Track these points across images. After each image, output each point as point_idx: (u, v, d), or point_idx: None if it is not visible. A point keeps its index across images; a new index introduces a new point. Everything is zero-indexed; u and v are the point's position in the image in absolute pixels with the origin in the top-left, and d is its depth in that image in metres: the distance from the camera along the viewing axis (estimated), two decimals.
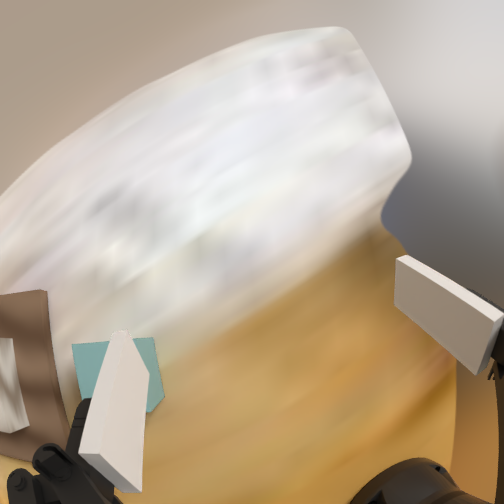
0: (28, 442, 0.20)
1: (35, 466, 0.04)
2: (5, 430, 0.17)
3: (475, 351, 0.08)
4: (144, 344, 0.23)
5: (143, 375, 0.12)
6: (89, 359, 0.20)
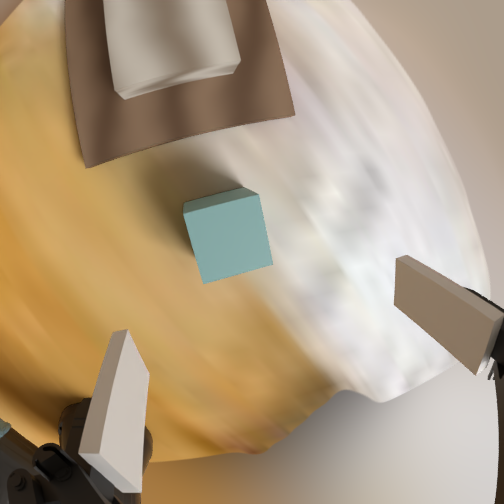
0: (99, 97, 0.21)
1: (35, 466, 0.04)
2: (115, 82, 0.18)
3: (475, 351, 0.08)
4: None
5: (143, 375, 0.12)
6: (246, 217, 0.23)
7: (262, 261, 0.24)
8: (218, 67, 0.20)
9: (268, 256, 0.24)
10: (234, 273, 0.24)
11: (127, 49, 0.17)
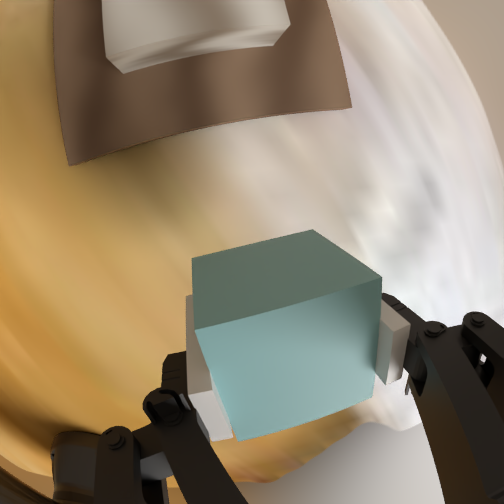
0: (89, 70, 0.14)
1: (145, 408, 0.07)
2: (108, 45, 0.11)
3: (382, 360, 0.10)
4: None
5: None
6: (348, 328, 0.09)
7: (356, 397, 0.11)
8: (257, 32, 0.13)
9: (369, 387, 0.11)
10: (301, 422, 0.10)
11: (128, 3, 0.10)
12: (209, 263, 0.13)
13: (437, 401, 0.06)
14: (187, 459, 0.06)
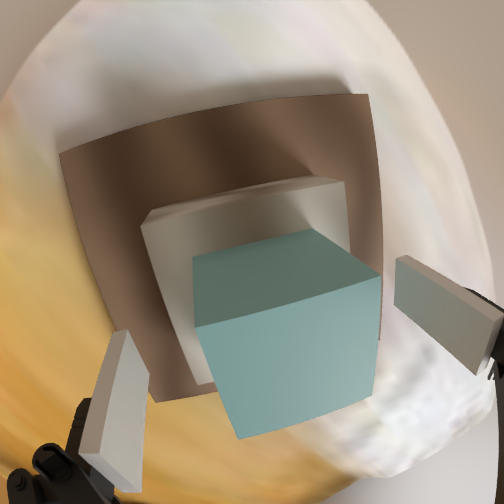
0: (159, 340, 0.19)
1: (35, 466, 0.04)
2: (197, 376, 0.16)
3: (475, 351, 0.08)
4: None
5: (143, 375, 0.12)
6: (347, 327, 0.09)
7: (355, 395, 0.11)
8: None
9: (369, 386, 0.11)
10: (301, 420, 0.11)
11: None
12: (209, 262, 0.13)
13: None
14: None
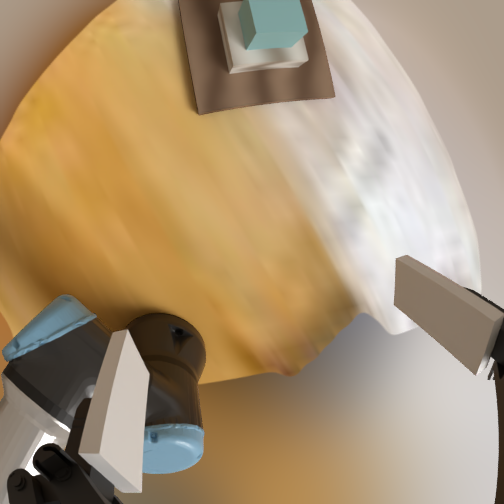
0: (211, 69, 0.34)
1: (35, 466, 0.04)
2: (234, 60, 0.30)
3: (475, 351, 0.08)
4: (296, 38, 0.27)
5: (143, 375, 0.12)
6: (289, 1, 0.24)
7: (300, 28, 0.25)
8: (294, 62, 0.33)
9: (305, 26, 0.25)
10: (280, 30, 0.25)
11: (240, 42, 0.30)
12: None
13: None
14: None
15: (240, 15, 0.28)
